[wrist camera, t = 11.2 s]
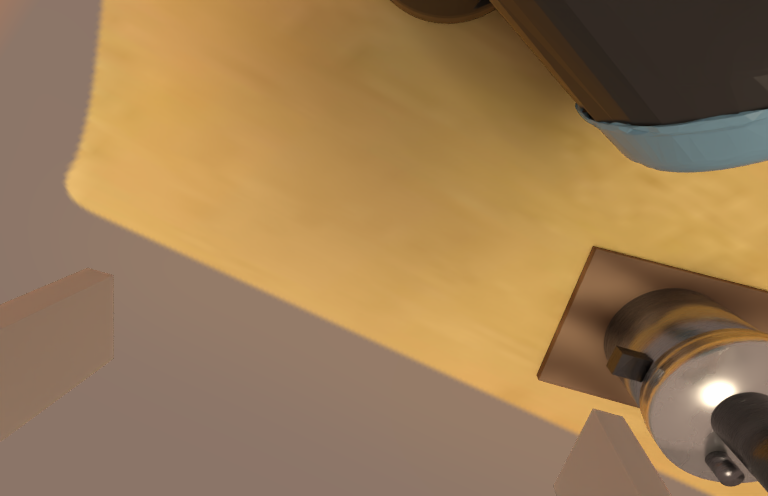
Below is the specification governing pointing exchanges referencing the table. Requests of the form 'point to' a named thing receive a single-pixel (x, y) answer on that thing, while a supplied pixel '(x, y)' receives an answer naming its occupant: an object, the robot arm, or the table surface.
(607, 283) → the walnut board
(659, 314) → the cooker pot
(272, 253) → the table surface
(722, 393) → the lid
